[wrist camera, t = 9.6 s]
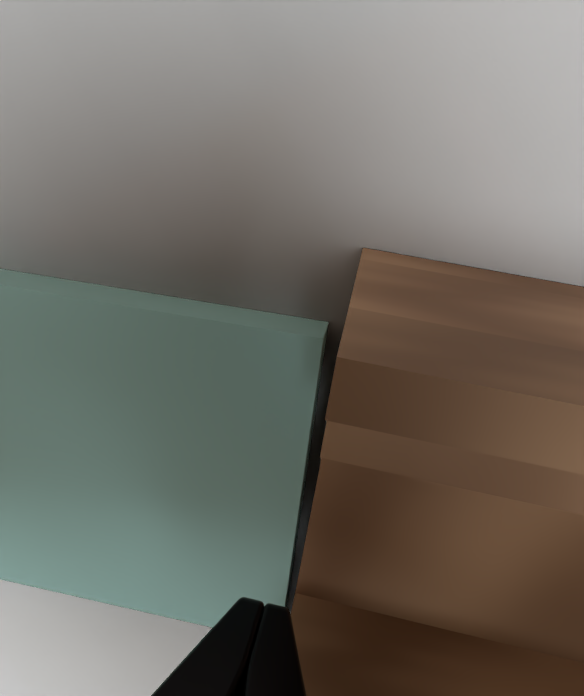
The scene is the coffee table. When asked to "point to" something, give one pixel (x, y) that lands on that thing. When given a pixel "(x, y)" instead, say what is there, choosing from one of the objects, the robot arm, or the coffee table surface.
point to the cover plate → (152, 445)
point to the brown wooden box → (449, 490)
